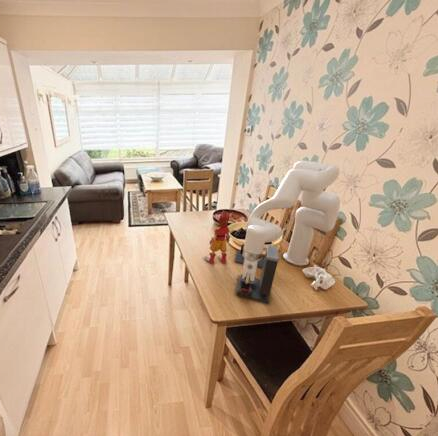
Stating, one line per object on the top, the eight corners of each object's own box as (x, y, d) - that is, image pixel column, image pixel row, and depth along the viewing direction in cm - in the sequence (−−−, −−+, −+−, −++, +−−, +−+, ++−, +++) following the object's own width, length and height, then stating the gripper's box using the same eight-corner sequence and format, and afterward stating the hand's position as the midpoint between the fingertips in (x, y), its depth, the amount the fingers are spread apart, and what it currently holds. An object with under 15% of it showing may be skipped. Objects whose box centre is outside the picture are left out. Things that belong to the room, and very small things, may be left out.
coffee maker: (239, 276, 122) (240, 271, 120) (267, 283, 117) (268, 278, 115) (236, 296, 109) (237, 290, 108) (267, 304, 104) (269, 299, 103)
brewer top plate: (237, 250, 145) (237, 249, 145) (262, 255, 140) (263, 254, 139) (235, 262, 133) (235, 261, 133) (262, 268, 128) (262, 267, 128)
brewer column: (240, 272, 120) (246, 239, 112) (269, 279, 115) (277, 245, 107) (238, 287, 110) (244, 252, 102) (269, 295, 105) (278, 259, 97)
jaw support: (343, 289, 108) (330, 275, 107) (324, 298, 111) (311, 285, 110) (330, 273, 119) (318, 260, 117) (313, 282, 122) (301, 270, 121)
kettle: (240, 253, 141) (243, 236, 137) (255, 256, 138) (259, 239, 133) (238, 260, 134) (241, 243, 129) (255, 264, 130) (258, 247, 126)
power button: (241, 287, 111) (242, 284, 110) (248, 289, 110) (249, 286, 109) (240, 291, 109) (241, 288, 108) (248, 293, 108) (248, 290, 107)
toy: (221, 254, 141) (227, 207, 129) (230, 262, 133) (238, 213, 121) (203, 257, 138) (208, 209, 126) (211, 266, 130) (217, 216, 118)
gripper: (261, 264, 94) (253, 300, 101) (262, 247, 106) (254, 280, 113) (241, 260, 96) (234, 295, 104) (244, 243, 109) (238, 276, 116)
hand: (245, 287), depth 109 cm, fingers closed
